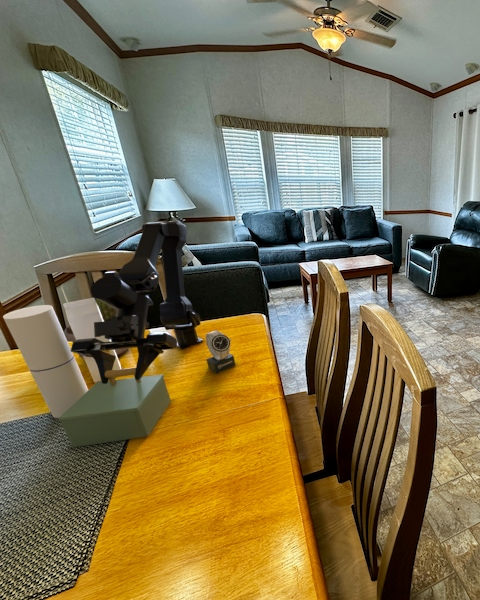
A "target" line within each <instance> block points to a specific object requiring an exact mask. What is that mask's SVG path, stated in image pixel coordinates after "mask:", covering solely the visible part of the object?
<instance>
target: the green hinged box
mask: <svg viewBox="0 0 480 600" xmlns="http://www.w3.org/2000/svg"><path fill="white" fill-rule="evenodd" d="M164 378H165V377H164ZM164 378H163V379H162V380H161V382H160V383H159V384H158V385H157V387H156V388H155V389H154V391H153V392H152V393H151V395H150V396H149V397H148V398H147V400H146V401H145V402H144V404H143V405H142V406H141V407H140V409H139V410H138V411H130V412H123V413H115V414H108V415H100V416H93V417H85V418H78V419H70V420H63V421H60V420H59V421H60V424H61V426H62V429H63V430H64V432H65V434H66V436H67V438H68V441H69V442H70V444H71V446H72V448H78V447H85V446H92V445H98V444H105V443H112V442H119V441H125V440H133V439H139V438H147V437H149V436H150V434H151V433H152V431H153V430H154V428H155V427H156V425H157V424H158V422H159V420H160V419H161V417H162V416H163V414H164V413H165V411H166V410H167V408H168V407H169V406H170V404H171V403H172V399H171V397H170V394H169V391H168V388H167V384H166V382H165V379H164Z"/></svg>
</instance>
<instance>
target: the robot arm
mask: <svg viewBox="0 0 480 600" xmlns="http://www.w3.org/2000/svg"><path fill="white" fill-rule="evenodd" d="M141 230H142V233H141V236H140V238H139V240H138V244H137V246H136V249H135V251H134V254H133V257H132V258H131V260H130V261H128V262H127V263H125V264H123V266H122V267H121V268H120V270H119V272H116V271H106V272H104V276H102V277H100V278H99V279H97V280H95V281H94V282H93V284H92V285H91V286H90V294H91V295H92V297H93V298H94V299H96V300H97V299H98V300H100V301H102V302H104V303H105V304H107V305H109V306H110V307H112V308H115V309H116V311H117V315H116V317H112V318H111V320H110V321H104V322H94V334H95V337H101V336H105V338H106V339H111V340H112V341H111V342H103V341H101V340H98V339H96V338H90V339H79V340H76V341H75V342H72V344H71V346H70V348H71V352H72V353H73V354H77V355H79V354H80V355H83V356H86V357H93V358H94V360H95V362H96V364H97V367H98V370H99V374H100V377H101V381H102V383H103V384H107V383H108V381H109V379H108V378H106V377H105V372H106V371H108V370H112V368H113V365H114V362H115V358H116V356H114V355H111V354H110V351H111V350H115V349H125V348H129V349H137V354H138V356H137V361H136V367H135V368H136V371H135V377H134V378H135V380H140V378H141V377H144V374H145V373H146V372H147V370H148V369H149V367H150V366H151V365H152V363H153V362H154V361H155V360H156V359H157V358H158V356H159V355H160V354H161V355H162V354H164V351H169V350H176V349H177V348H179V349H180V350H185V349H187V348H190V347H192V346H196V345H199V344H200V343H203V342H204V340H203V339H202V338H200V337H199V336H198V334H197V329H196V328H197V327H198V326H201V315H200V314H199V313H198V312H196V311H195V310H194V309H193V304H192V302H191V301H190V300H189V299H188V298H187V297H186V290H185V280H184V279H185V278H184V272H183V271H184V268H183V259H182V250H183V248H184V246H185V245H186V244H187V235H188V228H187V226H186V225H185V224H183V223H182V222H181V221H179V220H174V221H173V220H172V221H156V222H146V223H143V224H142V227H141ZM160 253H162V256H161V257H162V264H163V265H162V266H163V275H164V287H165V296H166V297H165V299H164V301H163V302H160V303H159V306H158V307H159V312H160V313H159V321H160V322H161V324H162V327H164V329H165V330H166V331H157V332H149V333H148V334H147V335H146V337H145V332H146V328H149V327H150V322H148V321H147V320H148V312H149V306H153V305H154V302H153V300H152V299H151V298H150V297H149V294H144V292H152V291H155V290H156V289H157V288H158V285H159V283H160V282H159V281H160V278H159V277H160V274H159V273H158V271H157V269H156V266H157V263H158V261H159V260H158V259H159V256H160ZM117 309H118V310H117ZM169 330H170V331H171V330H172V331H173V333H174V336H173V335H172V334H170V333H169V332H167V331H169ZM101 381H100V382H101Z"/></svg>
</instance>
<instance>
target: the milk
mask: <svg viewBox="0 0 480 600" xmlns="http://www.w3.org/2000/svg"><path fill="white" fill-rule="evenodd" d="M62 306H63V308H64V312H65V316H66V320H67V322H68V324H69V325H70V327H71V329H72V331H73V334H74V336H75V338H76V340H79V339H90V338H96V339H98V340H101V341H103V342H111V339H106V338H105V336H101V337H95V334H94V322H104V320H103V318H102V315H101V312H100V310H99V307H98V305H97V303H96V298H95V297H89V298H84V299H79V300H74V301H68V302H64V303H63V304H62ZM110 354H111V355H114V356H116V358H115V362H114V365H113V368H112V370H117V369H122V365H121V362H120V360H119V357H117V354H116V352H115V350H111V351H110ZM83 357H84V359H83V360H84V362H85V364H86V366H87V368H88V371H89V374H90V376H91V378H92V380H93V381H92V382H93V383H94V384H96V383H97V382H101V377H100V374H99V370H98V367H97V364H96V362H95V360H94V358H93V357H86V356H83Z"/></svg>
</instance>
